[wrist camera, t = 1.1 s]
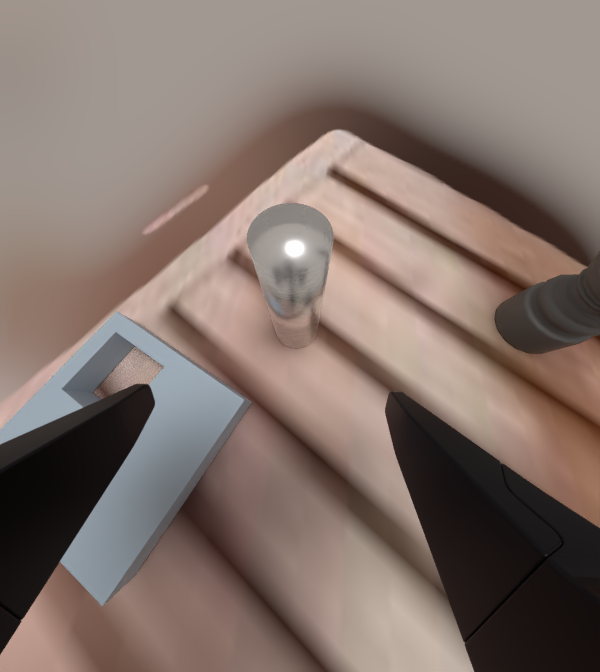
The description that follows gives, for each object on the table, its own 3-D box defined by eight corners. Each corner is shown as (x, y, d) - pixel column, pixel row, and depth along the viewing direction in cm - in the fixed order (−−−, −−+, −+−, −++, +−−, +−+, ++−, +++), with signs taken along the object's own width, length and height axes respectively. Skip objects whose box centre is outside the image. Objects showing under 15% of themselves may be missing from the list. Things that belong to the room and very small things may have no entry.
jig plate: (252, 402, 21) (244, 399, 19) (135, 575, 17) (102, 606, 15) (138, 323, 24) (116, 311, 21) (14, 456, 20) (-33, 463, 17)
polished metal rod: (325, 322, 24) (349, 224, 12) (303, 356, 23) (303, 287, 11) (290, 302, 25) (278, 191, 13) (267, 334, 24) (229, 246, 11)
